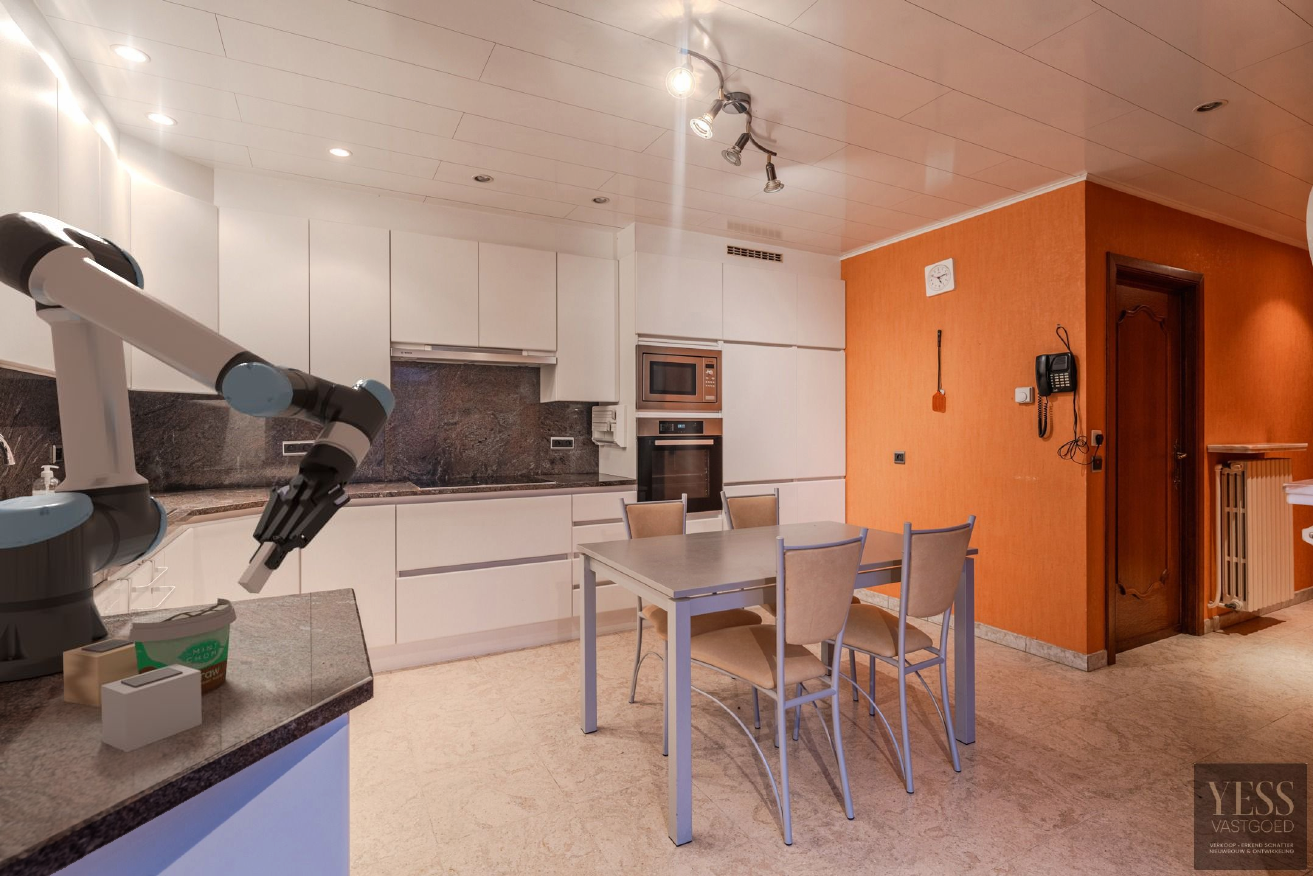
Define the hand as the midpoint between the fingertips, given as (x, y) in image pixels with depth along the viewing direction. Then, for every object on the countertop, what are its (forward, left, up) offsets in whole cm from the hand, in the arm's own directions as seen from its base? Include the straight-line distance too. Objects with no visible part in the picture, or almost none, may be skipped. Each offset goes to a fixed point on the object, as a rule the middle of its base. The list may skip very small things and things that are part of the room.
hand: (248, 587), depth 86 cm
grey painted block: (+8, -15, -12) cm, 21 cm away
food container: (0, -6, -12) cm, 13 cm away
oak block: (-9, -12, -12) cm, 19 cm away
